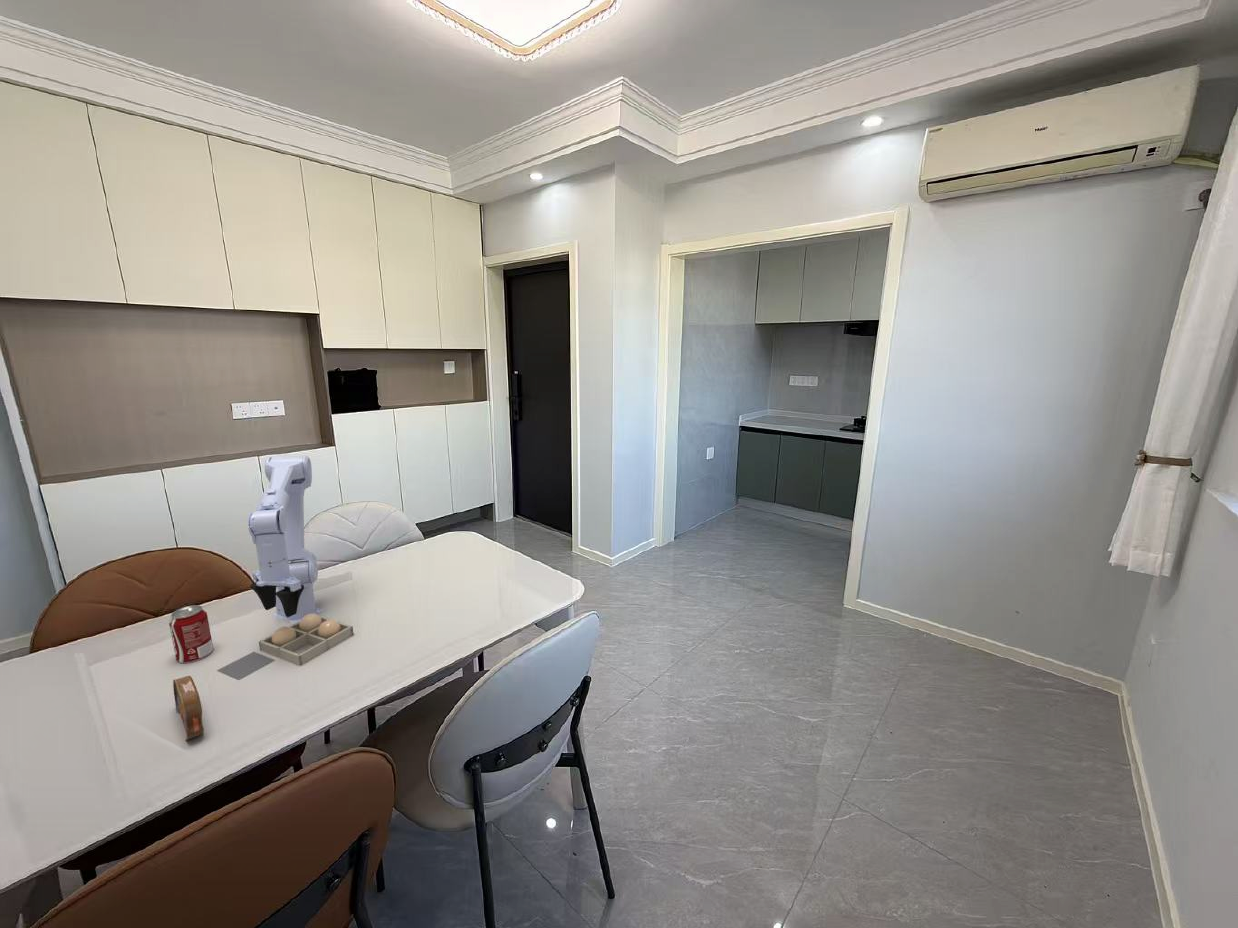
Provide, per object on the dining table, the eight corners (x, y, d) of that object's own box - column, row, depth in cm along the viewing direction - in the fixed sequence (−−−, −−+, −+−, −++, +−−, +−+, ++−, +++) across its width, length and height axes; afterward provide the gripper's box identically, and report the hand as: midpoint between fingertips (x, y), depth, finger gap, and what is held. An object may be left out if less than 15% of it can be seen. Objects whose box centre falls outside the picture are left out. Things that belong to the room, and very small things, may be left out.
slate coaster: (216, 672, 113) (216, 670, 113) (254, 653, 120) (253, 651, 120) (239, 682, 110) (238, 680, 109) (275, 662, 117) (275, 660, 117)
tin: (175, 709, 101) (167, 673, 99) (195, 702, 103) (188, 666, 102) (187, 750, 91) (179, 710, 89) (209, 740, 94) (202, 701, 92)
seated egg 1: (295, 635, 127) (293, 617, 126) (314, 625, 131) (312, 608, 130) (309, 639, 125) (306, 621, 124) (327, 630, 130) (325, 612, 128)
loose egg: (268, 649, 121) (265, 631, 120) (288, 638, 125) (286, 620, 124) (282, 654, 119) (279, 635, 118) (302, 643, 123) (299, 625, 122)
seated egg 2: (314, 641, 124) (311, 623, 123) (332, 631, 129) (330, 614, 128) (328, 646, 122) (325, 628, 121) (346, 636, 127) (344, 618, 126)
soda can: (220, 652, 120) (212, 606, 118) (189, 668, 114) (180, 621, 111) (201, 646, 122) (193, 601, 120) (169, 662, 116) (160, 615, 113)
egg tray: (260, 652, 120) (258, 641, 120) (315, 624, 133) (314, 613, 132) (300, 668, 115) (298, 656, 114) (353, 636, 128) (352, 626, 127)
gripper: (235, 559, 116) (244, 612, 119) (276, 571, 111) (284, 626, 114) (266, 549, 123) (274, 599, 126) (306, 559, 117) (313, 612, 120)
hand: (280, 611), depth 120 cm, fingers open, 7 cm apart
